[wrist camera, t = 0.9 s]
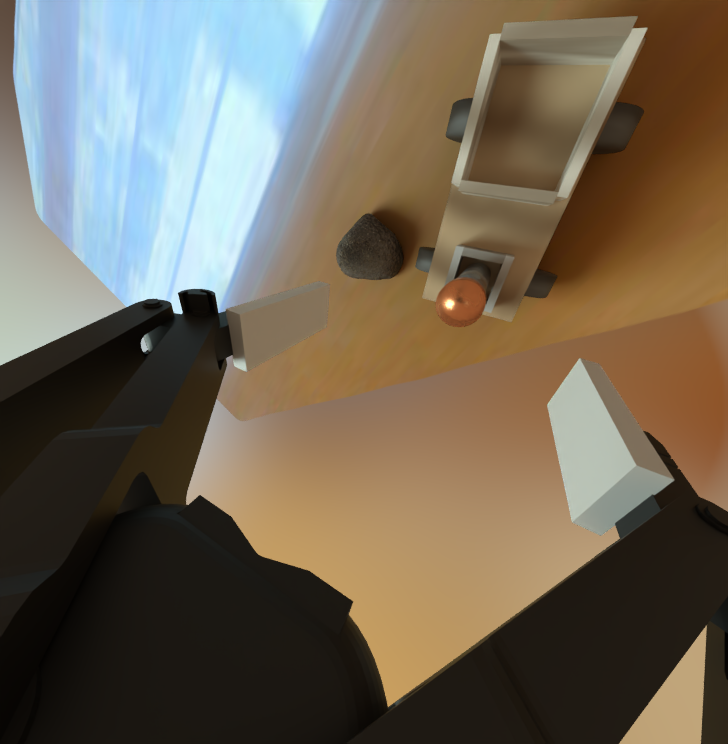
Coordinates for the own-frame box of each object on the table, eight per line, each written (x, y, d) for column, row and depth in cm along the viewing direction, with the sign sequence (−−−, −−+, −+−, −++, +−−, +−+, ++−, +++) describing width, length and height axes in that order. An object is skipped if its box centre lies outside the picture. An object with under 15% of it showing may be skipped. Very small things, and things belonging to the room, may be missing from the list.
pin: (466, 256, 30) (443, 274, 20) (499, 263, 29) (493, 286, 18) (455, 288, 32) (430, 319, 22) (486, 295, 31) (474, 332, 20)
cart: (465, 82, 29) (445, 16, 20) (650, 84, 24) (739, -3, 15) (417, 281, 41) (390, 299, 32) (533, 311, 36) (542, 342, 27)
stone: (410, 224, 42) (357, 187, 36) (418, 263, 38) (361, 229, 33) (373, 265, 49) (324, 240, 43) (376, 302, 45) (324, 279, 40)
